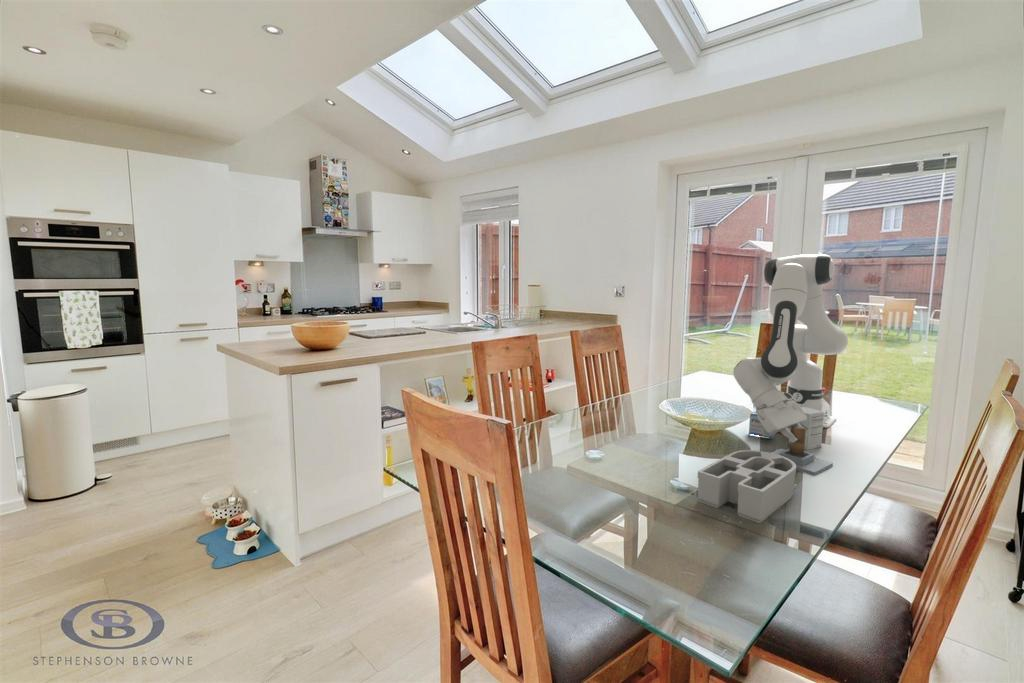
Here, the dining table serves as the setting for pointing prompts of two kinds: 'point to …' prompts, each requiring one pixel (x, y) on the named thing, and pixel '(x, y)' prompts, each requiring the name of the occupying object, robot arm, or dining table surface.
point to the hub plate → (805, 462)
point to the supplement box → (813, 427)
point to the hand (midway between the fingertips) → (799, 439)
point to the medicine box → (757, 426)
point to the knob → (800, 443)
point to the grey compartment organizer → (748, 483)
